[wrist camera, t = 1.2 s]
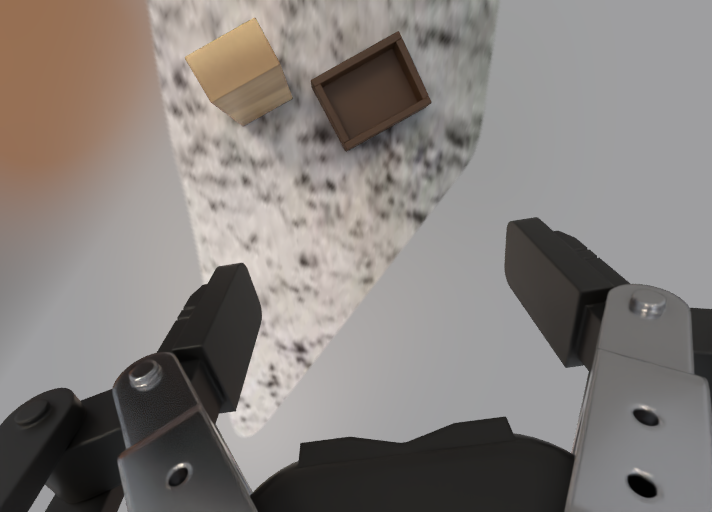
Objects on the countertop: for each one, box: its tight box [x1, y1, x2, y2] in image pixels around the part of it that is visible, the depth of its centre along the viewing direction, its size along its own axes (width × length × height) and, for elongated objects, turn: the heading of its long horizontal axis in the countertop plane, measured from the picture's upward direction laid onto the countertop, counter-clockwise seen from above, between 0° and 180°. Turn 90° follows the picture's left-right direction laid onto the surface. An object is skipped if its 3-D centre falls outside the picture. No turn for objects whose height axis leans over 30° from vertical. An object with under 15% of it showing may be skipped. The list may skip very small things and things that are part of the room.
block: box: [185, 18, 292, 126], centre depth 27 cm, size 3×5×9 cm, turn 118°
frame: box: [311, 31, 431, 152], centre depth 31 cm, size 6×8×2 cm
